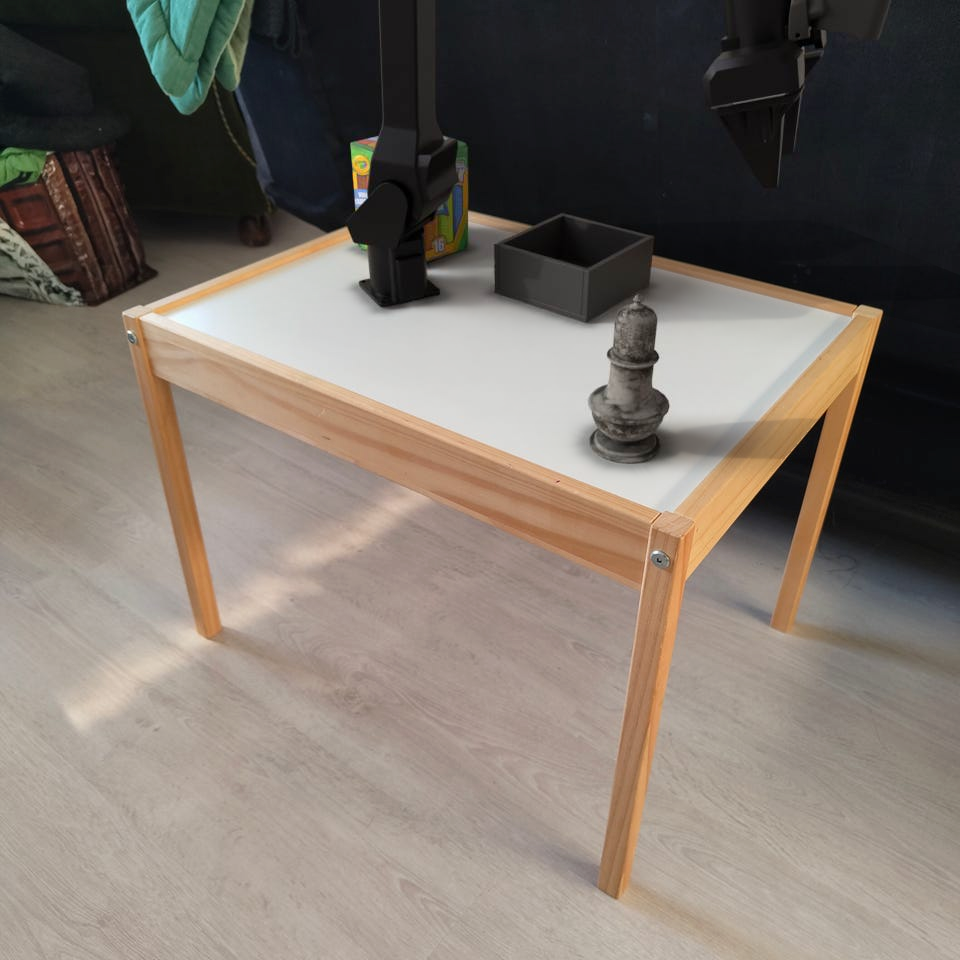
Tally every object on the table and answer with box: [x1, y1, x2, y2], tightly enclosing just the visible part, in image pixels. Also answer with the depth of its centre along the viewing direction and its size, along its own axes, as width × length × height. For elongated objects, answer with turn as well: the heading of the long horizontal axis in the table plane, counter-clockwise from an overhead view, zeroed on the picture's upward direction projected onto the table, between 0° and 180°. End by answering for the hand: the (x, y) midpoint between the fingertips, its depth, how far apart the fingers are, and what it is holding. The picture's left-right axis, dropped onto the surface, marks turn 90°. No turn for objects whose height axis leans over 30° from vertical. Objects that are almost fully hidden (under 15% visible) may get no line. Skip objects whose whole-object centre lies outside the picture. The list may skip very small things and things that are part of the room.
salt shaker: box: [587, 293, 671, 464], centre depth 64 cm, size 6×6×12 cm
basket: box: [493, 212, 655, 324], centre depth 89 cm, size 11×11×5 cm
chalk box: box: [350, 135, 470, 263], centre depth 96 cm, size 9×9×15 cm
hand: (778, 171), depth 70 cm, fingers open, 9 cm apart
